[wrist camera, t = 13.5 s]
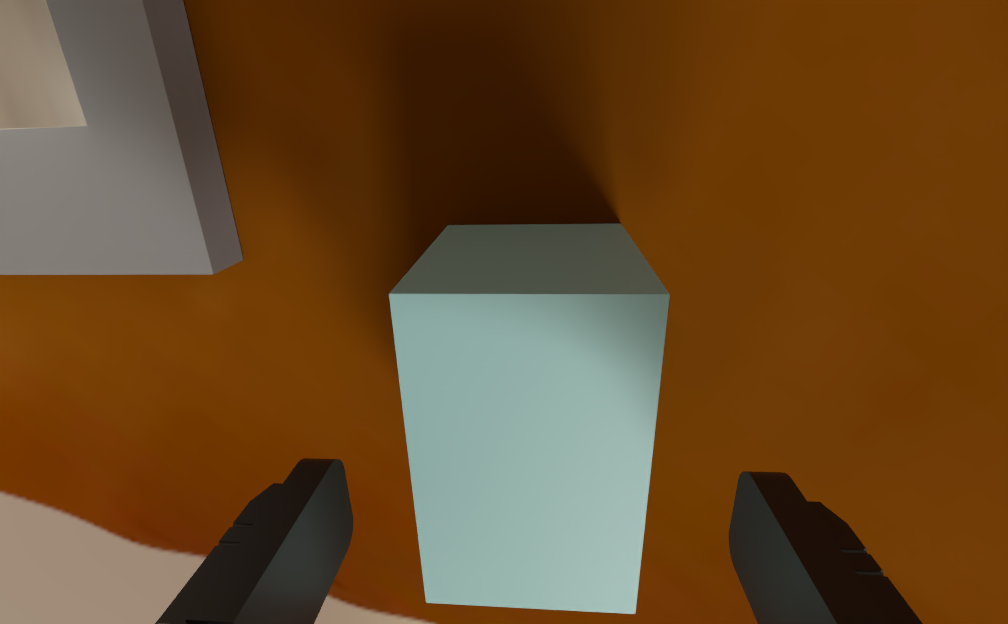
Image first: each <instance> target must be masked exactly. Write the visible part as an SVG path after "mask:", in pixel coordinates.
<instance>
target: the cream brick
mask: <svg viewBox="0 0 1008 624" xmlns="http://www.w3.org/2000/svg"><path fill="white" fill-rule="evenodd" d="M77 126H87V124H86V121H85V118H84V115H83V112H82V108H81V105H80V102H79V99H78V96H77V93H76V90H75V87H74V84H73V81H72V78H71V75H70V72H69V69H68V66H67V63H66V60H65V57H64V54H63V51H62V48H61V45H60V42H59V39H58V36H57V33H56V30H55V27H54V23H53V20H52V17H51V14H50V11H49V8H48V5H47V2H46V0H0V129H23V128H50V127H77Z"/></svg>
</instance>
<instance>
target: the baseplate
mask: <svg viewBox="0 0 1008 624" xmlns="http://www.w3.org/2000/svg"><path fill="white" fill-rule="evenodd" d="M46 2H47V5H48V8H49V11H50V14H51V17H52V20H53V23H54V27H55V30H56V33H57V36H58V39H59V42H60V45H61V48H62V51H63V54H64V57H65V60H66V63H67V66H68V69H69V72H70V75H71V78H72V81H73V84H74V87H75V90H76V93H77V96H78V99H79V102H80V105H81V108H82V112H83V115H84V118H85V121H86V124H87V126H77V127H50V128H23V129H0V275H118V274H215V273H217V272H219V271H221V270H223V269H225V268H227V267H229V266H232V265H234V264H236V263H238V262H240V261H242V260H243V256H242V251H241V247H240V243H239V238H238V234H237V230H236V226H235V221H234V217H233V213H232V208H231V204H230V200H229V195H228V191H227V187H226V183H225V178H224V174H223V170H222V165H221V161H220V157H219V152H218V148H217V144H216V140H215V135H214V131H213V127H212V122H211V118H210V114H209V110H208V105H207V101H206V97H205V92H204V88H203V84H202V79H201V75H200V71H199V67H198V62H197V58H196V54H195V49H194V45H193V41H192V36H191V32H190V28H189V24H188V19H187V15H186V11H185V6H184V2H183V0H46Z"/></svg>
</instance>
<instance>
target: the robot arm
mask: <svg viewBox="0 0 1008 624" xmlns="http://www.w3.org/2000/svg"><path fill="white" fill-rule="evenodd" d="M352 531H353V515H352V509H351V503H350V498H349V492H348V487H347V481H346V475H345V470H344V466H343V463H342V461H341V460H339V459H307V458H305V459H302V460H300V461H299V462H298V463H297V465H296V466H295V468H294V469H293V470H292V472H291V473H290V474H289V476H288V477H287V479H286V480H285V481H284V483H283V484H277V483H274V484H272V485H271V486H270V487H268V488H267V489H266V490H264V491H263V492H262V493H260V494H259V495H258V496H256V497H255V498H254V499H252V500H251V501H250V502H249V503H248V505H247V506H246V507H245V508H244V510H243V511H242V512H241V514H240V515H239V516H238V517H237V519H236V520H235V521H234V523H233V527H230V528H229V529H228V530H227V532H226V533H225V534H224V536H223V537H222V538H221V539H220V541H219V545H218V546H215V547H214V549H213V550H212V551H211V552H210V554H209V555H208V556H207V558H206V559H205V560H204V561H203V563H202V564H201V566H200V567H199V568H198V569H197V571H196V572H195V573H194V574H193V576H192V577H191V578H190V580H189V581H188V582H187V584H186V585H185V586H184V587H183V589H182V590H181V591H180V593H179V594H178V595H177V597H176V598H175V599H174V600H173V602H172V603H171V604H170V605H169V607H168V608H167V609H166V611H165V612H164V613H163V615H162V616H161V617H160V618H159V620H158V621H157V622H156V623H155V624H314V622H315V620H316V618H317V616H318V613H319V611H320V609H321V607H322V605H323V602H324V600H325V598H326V596H327V594H328V592H329V589H330V587H331V585H332V583H333V581H334V578H335V576H336V574H337V572H338V570H339V568H340V565H341V563H342V561H343V559H344V557H345V554H346V552H347V550H348V548H349V545H350V541H351V537H352ZM729 548H730V554H731V558H732V562H733V565H734V568H735V570H736V573H737V575H738V577H739V580H740V582H741V584H742V587H743V589H744V591H745V594H746V596H747V599H748V601H749V603H750V606H751V608H752V610H753V613H754V615H755V617H756V620H757V622H758V624H922V622H921V621H920V620H919V618H918V617H917V616H916V614H915V613H914V612H913V610H912V609H911V608H910V606H909V605H908V604H907V602H906V601H905V600H904V598H903V597H902V596H901V594H900V593H899V592H898V590H897V589H896V588H895V587H894V585H893V584H892V583H891V581H890V580H889V579H888V577H884V575H883V571H882V569H881V568H880V567H879V565H878V564H877V563H876V561H875V560H874V559H873V557H872V556H871V555H870V554H867V552H866V548H865V547H864V545H863V544H862V543H861V541H860V540H859V539H858V537H857V536H856V535H855V533H854V532H853V531H852V529H851V528H850V527H849V525H848V524H847V523H846V522H845V521H843V520H842V519H841V518H839V517H838V516H837V515H836V514H834V513H833V512H832V511H830V510H829V509H828V508H827V507H825V506H824V505H823V504H822V503H820V502H807V501H806V499H805V498H804V496H803V495H802V493H801V492H800V490H799V489H798V488H797V486H796V485H795V483H794V482H793V480H792V479H791V478H790V476H789V475H787V474H786V473H781V472H742V473H741V475H740V477H739V480H738V485H737V490H736V496H735V501H734V507H733V513H732V518H731V524H730V529H729Z"/></svg>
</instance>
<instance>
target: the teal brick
mask: <svg viewBox="0 0 1008 624" xmlns="http://www.w3.org/2000/svg"><path fill="white" fill-rule="evenodd" d="M669 295H670V294H669V293H668V291H667V290H666V288H665V287H664V285H663V284H662V283H661V281H660V280H659V278H658V277H657V275H656V274H655V272H654V271H653V269H652V268H651V267H650V265H649V264H648V262H647V261H646V259H645V258H644V256H643V255H642V253H641V252H640V251H639V249H638V248H637V246H636V245H635V243H634V242H633V240H632V239H631V237H630V236H629V235H628V233H627V232H626V230H625V229H624V227H623V226H622V224H514V225H448V226H447V227H446V228H445V229H444V230H443V231H442V233H441V234H440V235H439V236H438V237H437V238H436V240H435V241H434V242H433V243H432V244H431V245H430V246H429V248H428V249H427V250H426V251H425V252H424V253H423V255H422V256H421V257H420V258H419V259H418V260H417V262H416V263H415V264H414V265H413V266H412V267H411V269H410V270H409V271H408V272H407V273H406V274H405V276H404V277H403V278H402V279H401V280H400V281H399V282H398V284H397V285H396V286H395V287H394V288H393V289H392V291H391V292H390V293H389V300H390V308H391V316H392V324H393V333H394V341H395V349H396V357H397V366H398V374H399V382H400V391H401V399H402V407H403V415H404V424H405V432H406V440H407V448H408V457H409V465H410V473H411V482H412V490H413V498H414V506H415V515H416V523H417V531H418V539H419V548H420V556H421V564H422V573H423V581H424V589H425V597H426V603H440V604H459V605H477V606H496V607H514V608H533V609H551V610H570V611H588V612H607V613H625V614H635V611H636V602H637V593H638V584H639V574H640V565H641V556H642V546H643V537H644V528H645V518H646V509H647V500H648V491H649V481H650V472H651V463H652V453H653V444H654V435H655V426H656V416H657V407H658V398H659V388H660V379H661V370H662V360H663V351H664V342H665V333H666V323H667V314H668V305H669Z"/></svg>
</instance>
